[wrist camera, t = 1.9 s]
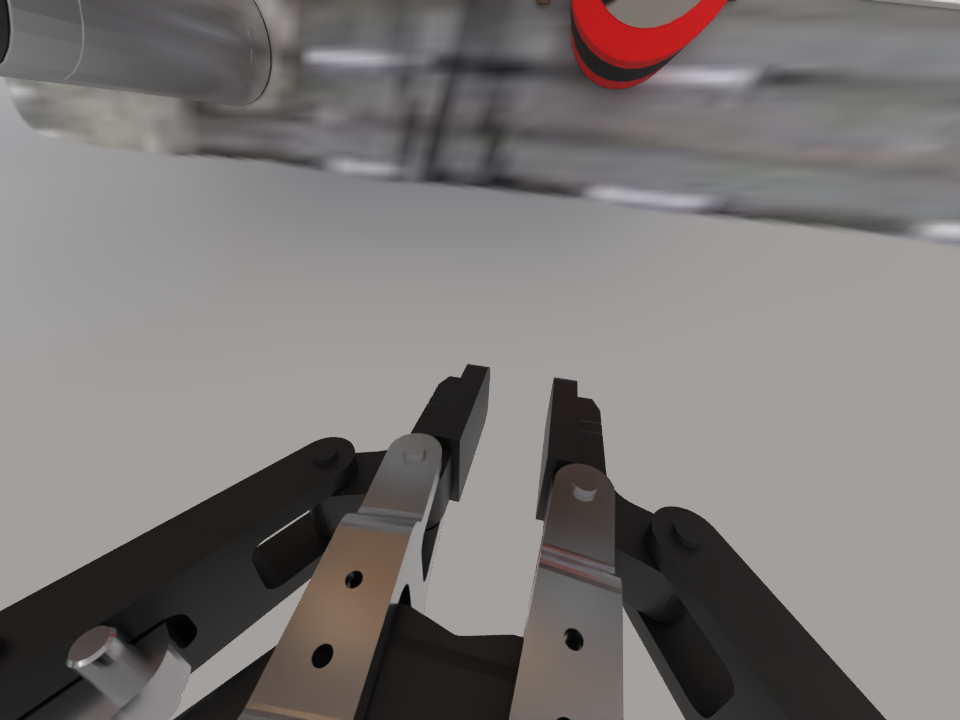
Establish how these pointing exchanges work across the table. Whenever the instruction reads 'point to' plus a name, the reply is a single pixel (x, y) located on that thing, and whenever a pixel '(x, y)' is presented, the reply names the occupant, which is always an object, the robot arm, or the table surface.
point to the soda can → (634, 36)
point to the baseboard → (929, 3)
